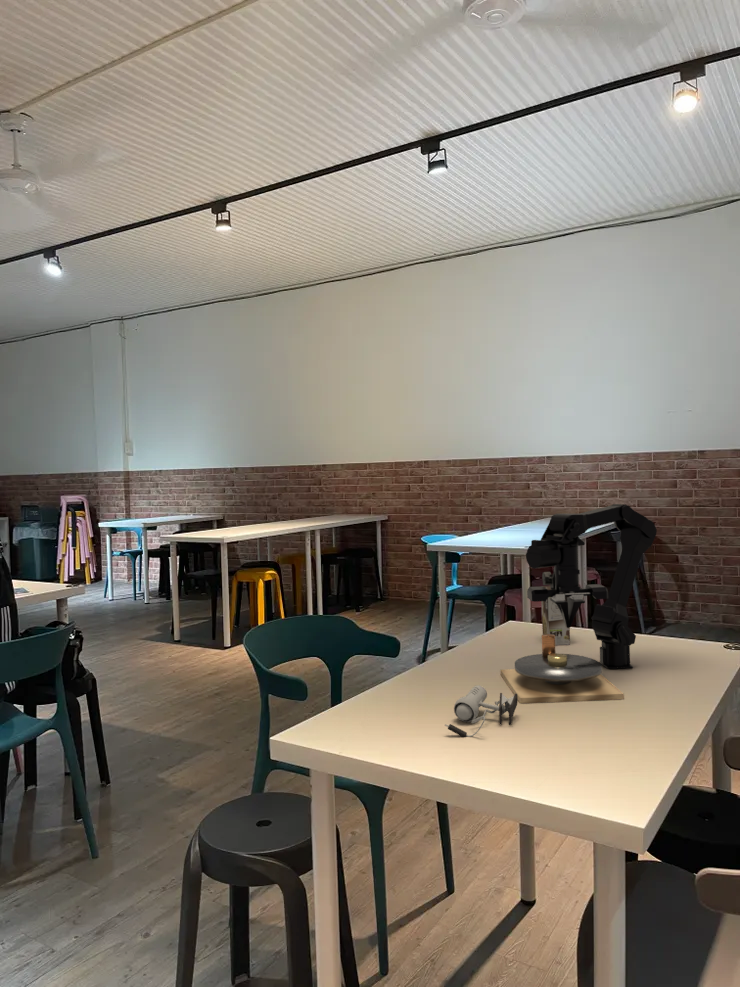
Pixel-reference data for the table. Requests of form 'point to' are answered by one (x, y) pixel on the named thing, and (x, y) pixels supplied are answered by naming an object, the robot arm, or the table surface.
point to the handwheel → (557, 664)
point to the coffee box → (554, 622)
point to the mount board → (559, 689)
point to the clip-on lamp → (470, 705)
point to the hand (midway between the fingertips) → (568, 627)
